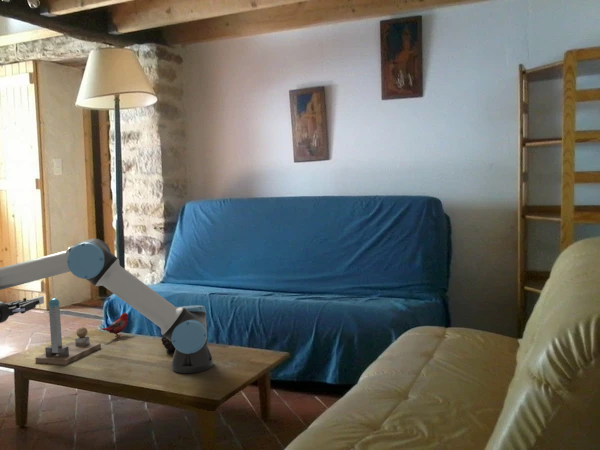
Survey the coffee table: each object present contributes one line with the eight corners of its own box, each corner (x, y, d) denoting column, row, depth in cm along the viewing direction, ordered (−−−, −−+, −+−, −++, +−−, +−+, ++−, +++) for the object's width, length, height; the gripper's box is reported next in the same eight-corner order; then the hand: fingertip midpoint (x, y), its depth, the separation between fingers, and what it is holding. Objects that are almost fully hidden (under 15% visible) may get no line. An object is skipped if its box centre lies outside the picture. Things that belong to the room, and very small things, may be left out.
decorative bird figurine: (132, 332, 255) (130, 311, 254) (102, 343, 239) (101, 320, 238) (127, 332, 256) (126, 311, 255) (97, 342, 240) (96, 320, 240)
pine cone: (205, 344, 233) (204, 321, 232) (176, 356, 217) (175, 331, 216) (186, 341, 238) (185, 319, 237) (157, 353, 222) (156, 329, 222)
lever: (58, 356, 214) (54, 299, 212) (49, 355, 215) (45, 299, 213) (65, 353, 217) (61, 297, 216) (56, 352, 218) (52, 297, 217)
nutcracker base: (65, 364, 211) (64, 341, 210) (35, 362, 214) (34, 339, 214) (100, 348, 232) (99, 326, 231) (72, 346, 235) (71, 325, 235)
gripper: (-23, 324, 188) (28, 308, 210) (8, 325, 184) (57, 309, 207) (-25, 302, 187) (26, 289, 210) (7, 303, 183) (55, 290, 206)
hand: (41, 299), depth 208 cm, fingers closed
